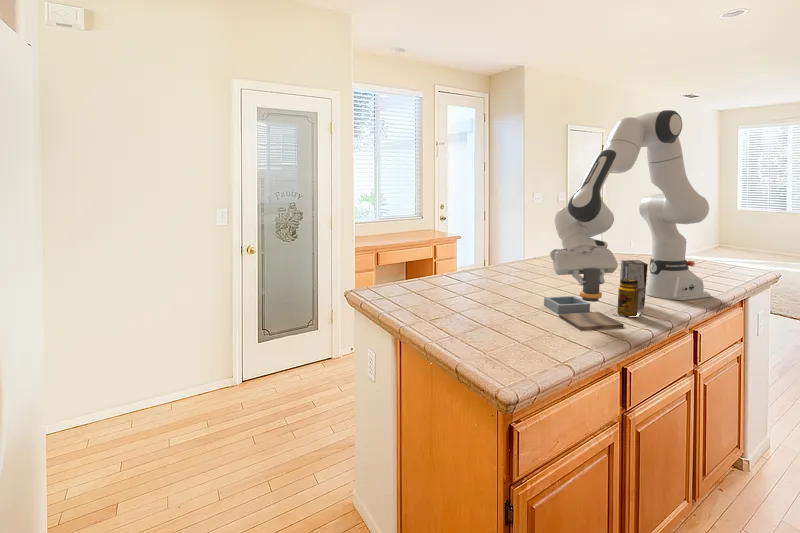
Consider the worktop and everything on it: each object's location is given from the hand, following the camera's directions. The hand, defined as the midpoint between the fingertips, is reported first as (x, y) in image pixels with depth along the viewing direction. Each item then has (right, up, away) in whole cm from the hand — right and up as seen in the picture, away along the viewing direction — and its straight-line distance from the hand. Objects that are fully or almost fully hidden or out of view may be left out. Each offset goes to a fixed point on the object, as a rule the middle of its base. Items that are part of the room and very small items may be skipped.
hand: (592, 283), depth 139 cm
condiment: (+17, -11, +11) cm, 23 cm away
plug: (0, -5, +2) cm, 5 cm away
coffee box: (+23, -9, +20) cm, 32 cm away
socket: (-1, -10, +19) cm, 21 cm away
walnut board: (0, -12, +3) cm, 13 cm away
